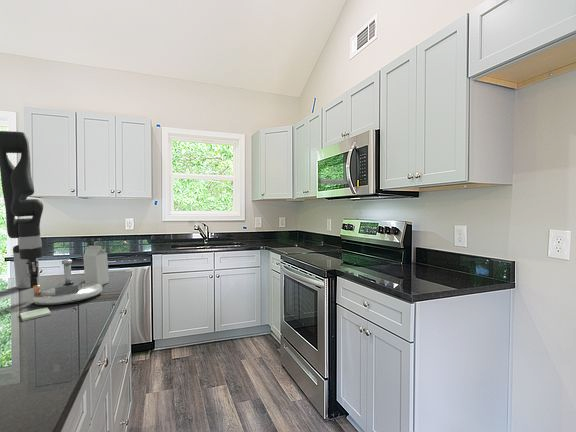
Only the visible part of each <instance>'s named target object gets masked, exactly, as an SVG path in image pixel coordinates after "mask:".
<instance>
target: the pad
mask: <svg viewBox="0 0 576 432" xmlns="http://www.w3.org/2000/svg"><path fill="white" fill-rule="evenodd" d="M51 312H52V311H50V309H49V308H48V307H42V308H38V309H34V310H29V311H23V312H21V313H19V315H20V319H21V320H22V322H23V321H29V320H33V319H37V318H41V317H47V316H49V315H50V314H51V315H52V313H51Z"/></svg>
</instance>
